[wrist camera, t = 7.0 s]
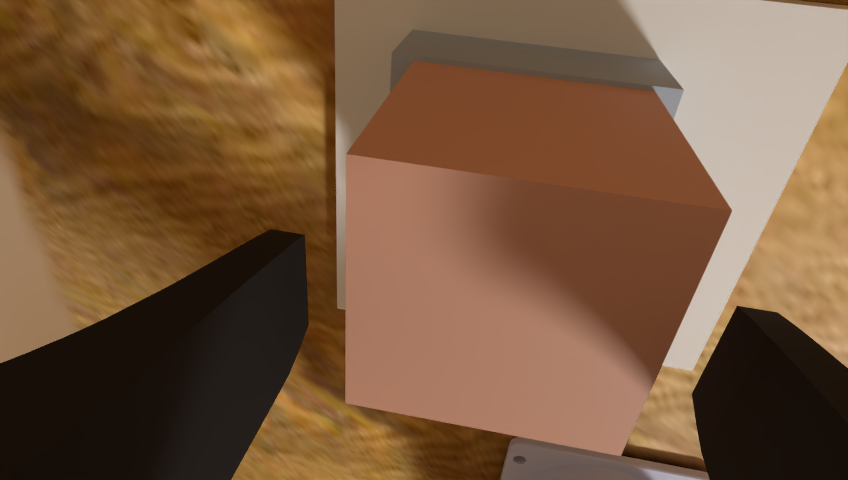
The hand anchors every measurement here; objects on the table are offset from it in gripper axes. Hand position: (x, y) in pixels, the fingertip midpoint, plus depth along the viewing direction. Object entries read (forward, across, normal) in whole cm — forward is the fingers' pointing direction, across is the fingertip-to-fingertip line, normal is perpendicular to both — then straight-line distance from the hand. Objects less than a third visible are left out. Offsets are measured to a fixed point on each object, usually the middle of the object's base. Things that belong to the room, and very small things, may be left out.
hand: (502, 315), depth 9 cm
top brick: (+4, 0, 0) cm, 4 cm away
